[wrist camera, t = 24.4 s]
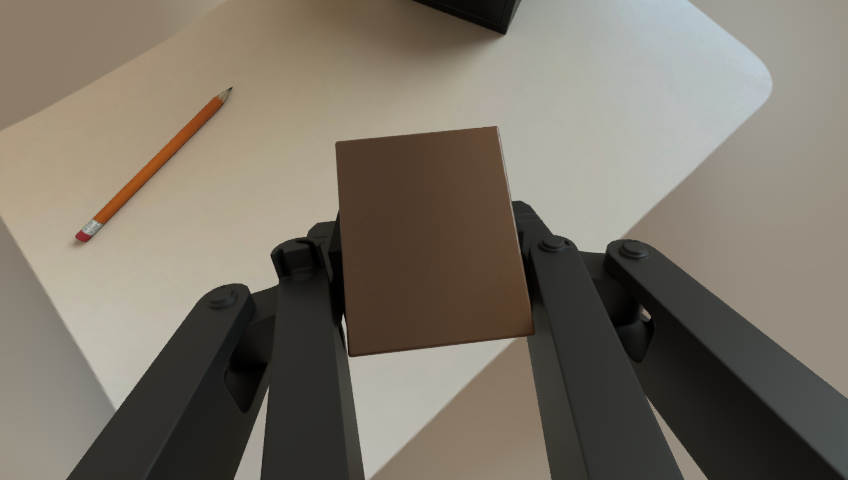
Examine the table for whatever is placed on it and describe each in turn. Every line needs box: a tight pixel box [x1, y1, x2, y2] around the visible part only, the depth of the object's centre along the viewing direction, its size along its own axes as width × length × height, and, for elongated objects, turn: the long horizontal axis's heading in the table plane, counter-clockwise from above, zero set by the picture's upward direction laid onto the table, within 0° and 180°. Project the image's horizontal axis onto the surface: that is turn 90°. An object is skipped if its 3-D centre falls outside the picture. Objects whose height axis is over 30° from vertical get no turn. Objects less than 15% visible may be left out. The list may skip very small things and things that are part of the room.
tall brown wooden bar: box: [335, 126, 535, 357], centre depth 13 cm, size 4×5×11 cm
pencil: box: [75, 87, 232, 242], centre depth 32 cm, size 1×19×1 cm, turn 144°
